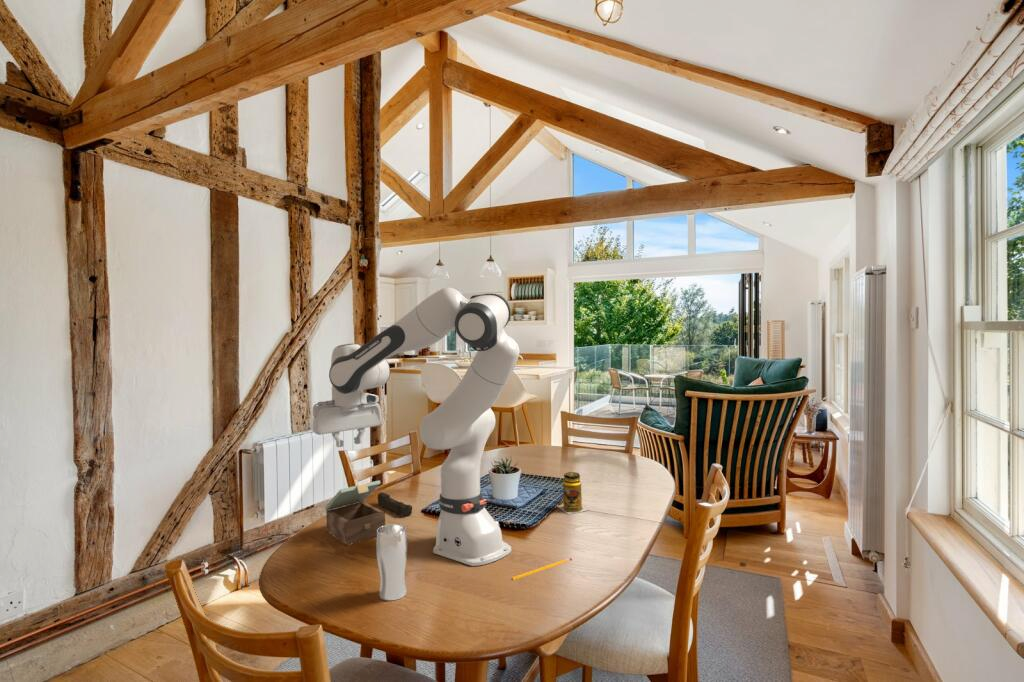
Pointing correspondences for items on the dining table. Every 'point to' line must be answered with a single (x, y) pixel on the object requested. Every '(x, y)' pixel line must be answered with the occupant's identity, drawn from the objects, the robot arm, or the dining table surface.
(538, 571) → the pencil
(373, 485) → the lid
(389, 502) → the dark brown rough bar
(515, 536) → the dining table surface
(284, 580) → the dining table surface
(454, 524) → the robot arm
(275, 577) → the dining table surface
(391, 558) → the beer glass
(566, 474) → the condiment
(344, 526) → the box
